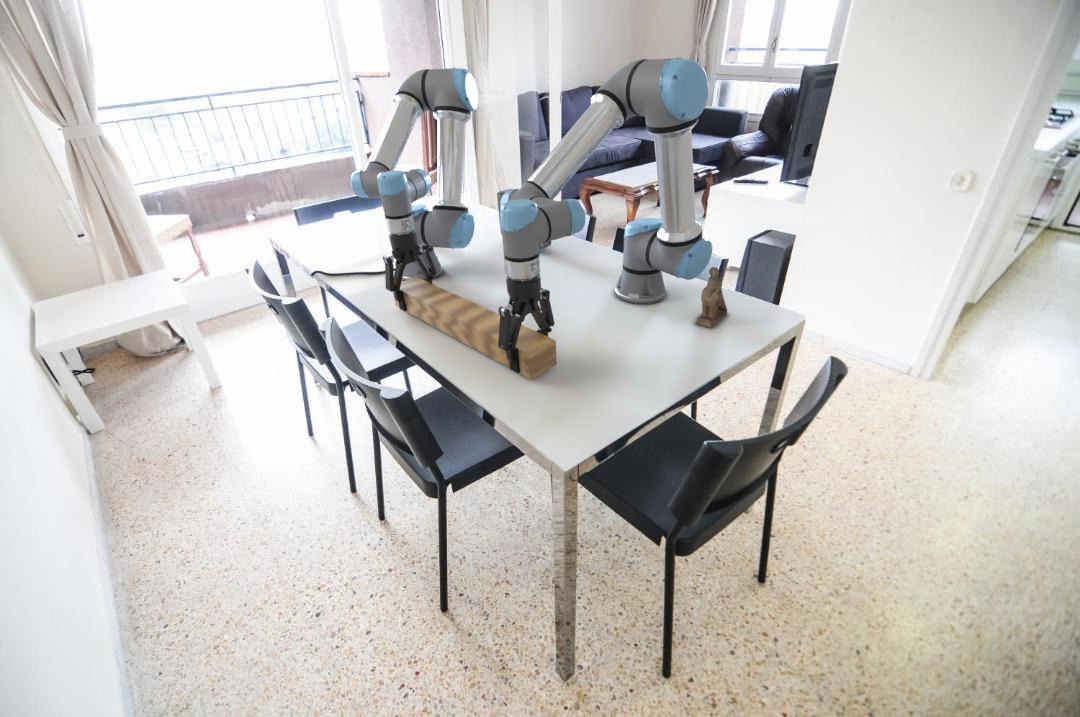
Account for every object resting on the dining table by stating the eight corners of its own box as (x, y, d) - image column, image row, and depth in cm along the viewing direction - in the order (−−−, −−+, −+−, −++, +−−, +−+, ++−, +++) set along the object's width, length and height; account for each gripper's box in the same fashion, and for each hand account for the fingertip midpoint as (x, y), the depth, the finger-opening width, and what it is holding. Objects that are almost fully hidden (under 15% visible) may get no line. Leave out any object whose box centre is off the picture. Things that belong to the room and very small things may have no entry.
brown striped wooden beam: (396, 306, 150) (391, 285, 147) (419, 296, 155) (416, 276, 152) (531, 379, 114) (529, 354, 110) (556, 364, 119) (555, 339, 115)
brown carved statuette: (709, 335, 136) (713, 280, 124) (691, 329, 139) (693, 274, 128) (730, 313, 142) (736, 258, 130) (712, 307, 145) (716, 253, 133)
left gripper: (374, 244, 129) (392, 321, 141) (441, 223, 141) (452, 295, 153) (360, 238, 133) (378, 313, 146) (426, 218, 146) (438, 289, 158)
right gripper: (497, 296, 99) (506, 388, 111) (569, 264, 111) (570, 350, 123) (473, 286, 103) (485, 375, 116) (545, 256, 116) (548, 340, 128)
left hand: (416, 304), depth 149 cm, fingers closed on brown striped wooden beam, 9 cm apart
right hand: (529, 362), depth 119 cm, fingers closed on brown striped wooden beam, 9 cm apart
